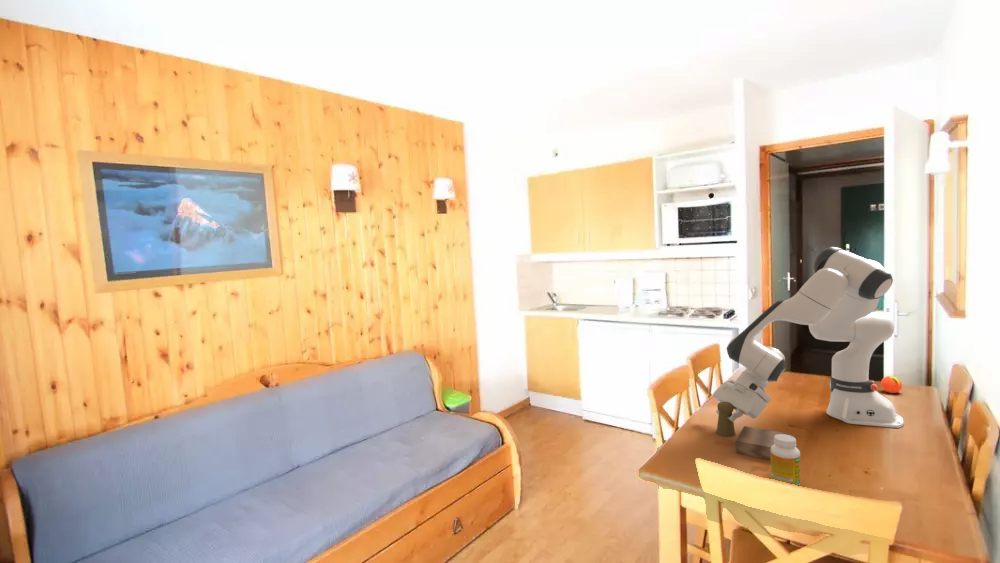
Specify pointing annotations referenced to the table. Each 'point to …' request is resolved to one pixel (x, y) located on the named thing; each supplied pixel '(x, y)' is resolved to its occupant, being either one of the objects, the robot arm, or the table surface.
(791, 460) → the supplement bottle
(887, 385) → the clementine
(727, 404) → the olive pawn
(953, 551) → the table surface
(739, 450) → the walnut plinth
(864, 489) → the table surface
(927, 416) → the table surface
